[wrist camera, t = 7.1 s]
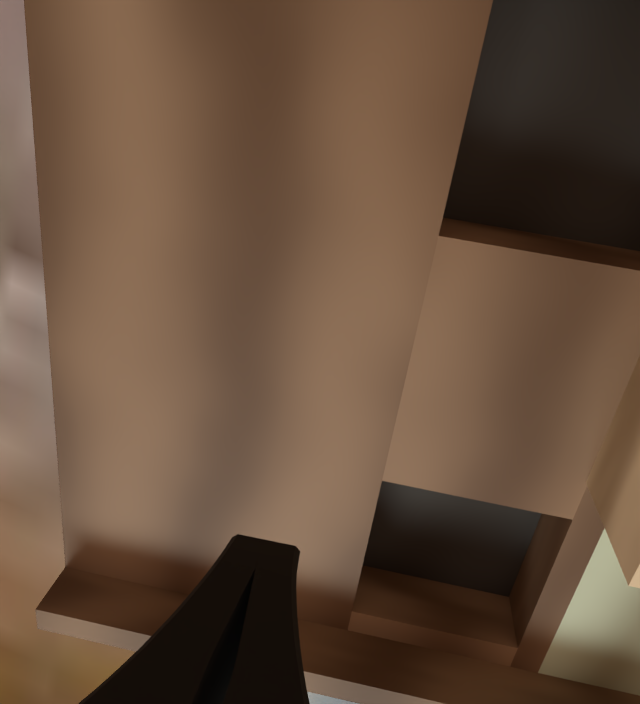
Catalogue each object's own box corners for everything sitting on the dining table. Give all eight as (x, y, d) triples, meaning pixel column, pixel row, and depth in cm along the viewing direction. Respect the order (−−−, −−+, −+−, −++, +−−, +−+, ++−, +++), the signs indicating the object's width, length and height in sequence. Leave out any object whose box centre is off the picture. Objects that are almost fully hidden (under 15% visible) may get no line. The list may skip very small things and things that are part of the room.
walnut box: (97, 540, 25) (37, 628, 21) (69, -177, 15) (-61, -270, 11) (695, 671, 24) (752, 795, 20) (1150, -37, 13) (1478, -85, 9)
